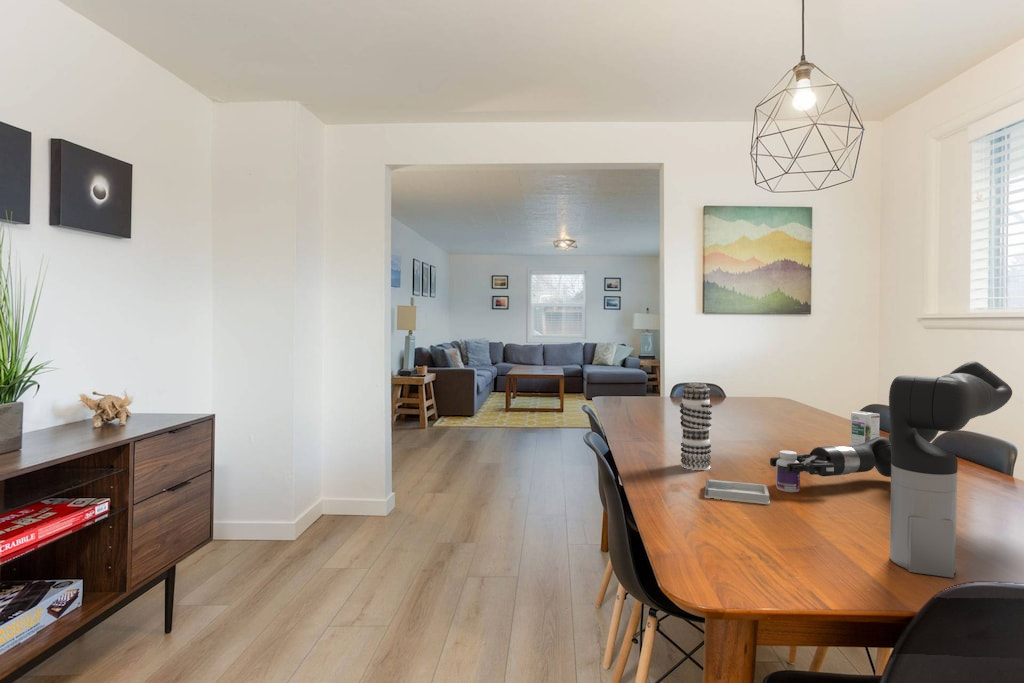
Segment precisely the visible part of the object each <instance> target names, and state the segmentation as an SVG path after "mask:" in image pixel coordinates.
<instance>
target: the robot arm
mask: <svg viewBox="0 0 1024 683" xmlns="http://www.w3.org/2000/svg"><path fill="white" fill-rule="evenodd" d="M1012 395H1013V389H1012V387H1011V386H1010V385H1009V384H1008V383H1007V382H1006V381H1004V379H1002V378H1000V377H999V376H998V375H996V374H995V373H994V372H993V371H991V370H989V368H987V367H986V366H984V365H983V364H981V363H980V362H978V361H976V360H975V361H974V360H973V361H972V360H971V361H967V362H964V363H963V364H962V365H960V366H958V367H957V368H955V369H953V370H952V371H951V372H950V373H949V374H945V375H942V376H922V375H920V376H919V375H898V376H897V377H894V379H893V381H892V382H891V384H890V387H889V393H888V408H889V409H888V410H889V413H888V414H889V423H890V424H889V427H890V433H889V436H888V438H887V437H885V436H879V437H876V438H873V439H871V440H869V441H867V442H865V443H862V444H859V445H853V446H851V445H829V446H828V445H827V446H818V447H814V448H813V449H812V450H811V451H810V453H807V452H806V453H805V452H803V453H797V459H796V461H798V462H799V463H788V464H787V472H789V473H794V472H800V473H804V474H807V473H809V475H811V476H812V475H813V476H814V475H815V476H816V475H818V476H820V477H833V476H835V477H836V476H845V475H850V474H854V473H855V474H857V473H867V472H869V471H872V470H873V469H874V468H875V469H876V471H877V472H878V473H879V474H880V475H881V476H883V477H886V478H890V507H889V509H890V510H889V512H890V513H889V514H890V516H889V517H890V518H889V523H890V526H889V557H890V560H891V562H893V563H894V564H896V565H898V566H900V567H902V568H904V569H906V570H907V571H908V572H910V573H913V574H923V575H929V576H937V577H944V578H954V576H955V573H956V572H957V519H958V517H957V516H958V515H957V513H958V512H957V511H958V506H957V505H958V504H957V503H958V502H957V501H958V472H959V470H958V468H959V466H958V465H959V464H958V463H959V462H958V458H957V455H955V454H954V453H952V451H950V450H947V449H945V448H943V447H940V446H938V445H935V444H933V443H931V442H932V441H933V440H934V439H935V438H936V437H937V436H938V433H939V432H949V433H951V432H958V431H960V430H961V429H964V427H966V425H967V424H968V423H969V422H970V421H971V420H972V419H975V418H977V417H982V416H986V415H989V414H991V413H993V412H996V411H998V410H1000V409H1002V407H1004V406H1005V405H1006V404H1008V402H1009V401H1010V399H1011V397H1012ZM778 459H780V457H779V456H776V457H774V456H773V457H770V459H769V465H770V466H771V467H774V468H775V467H776V462H777V460H778Z"/></svg>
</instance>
